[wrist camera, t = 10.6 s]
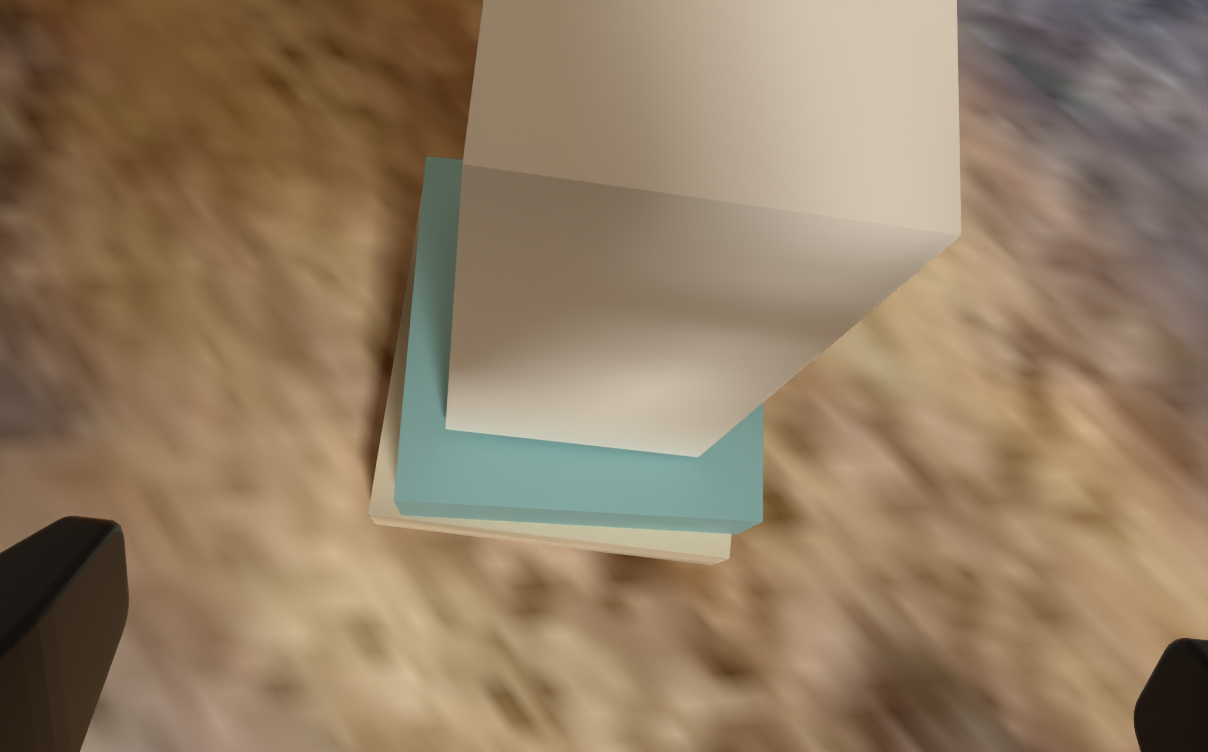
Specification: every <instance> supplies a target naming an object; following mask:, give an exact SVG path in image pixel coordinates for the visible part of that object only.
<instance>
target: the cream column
mask: <svg viewBox="0 0 1208 752" xmlns="http://www.w3.org/2000/svg"><path fill="white" fill-rule="evenodd" d="M960 236H961V199H960V147H959V96H958V44H957V0H483V8H482V15H481V23H480V31H479V39H478V47H477V54H476V62H475V70H474V78H473V85H472V93H471V101H470V109H469V117H468V124H467V132H466V140H465V148H464V156H463V163H462V178H461V194H460V210H459V225H458V241H457V256H456V272H455V288H454V303H453V319H452V334H451V350H450V366H449V381H448V397H447V412H446V428H445V429H448V430H457V431H466V432H475V433H484V434H493V435H502V436H511V437H520V438H529V439H538V440H547V441H556V442H565V443H574V444H583V445H592V446H601V447H610V448H619V449H628V450H637V451H646V452H655V453H664V454H672V455H681V456H690V457H699V456H700V455H702V454H703V453H704V452H705V451H706V450H707V449H709V448H710V447H711V446H712V445H713V444H715V443H716V442H717V441H718V440H719V439H720V438H722V437H723V436H724V435H725V434H726V433H728V432H729V431H730V430H731V429H732V428H733V427H735V426H736V425H737V424H738V423H739V422H741V421H742V420H743V419H744V418H745V417H747V416H748V415H749V414H750V413H751V412H752V411H754V410H755V409H756V408H757V407H758V406H760V405H761V404H762V403H763V402H764V401H765V400H767V399H768V398H769V397H770V396H771V395H773V394H774V393H775V392H776V391H777V390H778V389H780V388H781V387H782V386H783V385H784V384H786V383H787V382H788V381H789V380H790V379H792V378H793V377H794V376H795V375H796V374H797V373H799V372H800V371H801V370H802V369H803V368H805V367H806V366H807V365H808V364H809V363H810V362H812V361H813V360H814V359H815V358H816V357H818V356H819V355H820V354H821V353H822V352H824V351H825V350H826V349H827V348H828V347H829V346H831V345H832V344H833V343H834V342H835V341H837V340H838V339H839V338H840V337H841V336H842V335H844V334H845V333H846V332H847V331H848V330H850V329H851V328H852V327H853V326H854V325H855V324H857V323H858V322H859V321H860V320H861V319H863V318H864V317H865V316H866V315H867V314H869V313H870V312H871V311H872V310H873V309H874V308H876V307H877V306H878V305H879V304H880V303H882V302H883V301H884V300H885V299H886V298H887V297H889V296H890V295H891V294H892V293H893V292H895V291H896V290H897V289H898V288H899V287H900V286H902V285H903V284H904V283H905V282H906V281H908V280H909V279H910V278H911V277H912V276H914V275H915V274H916V273H917V272H918V271H919V270H921V269H922V268H923V267H924V266H925V265H927V264H928V263H929V262H930V261H931V260H932V259H934V258H935V257H936V256H937V255H938V254H940V253H941V252H942V251H943V250H944V249H945V248H947V247H948V246H949V245H950V244H951V243H953V242H954V241H955V240H956V239H957V238H959V237H960Z"/></svg>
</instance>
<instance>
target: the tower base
mask: <svg viewBox="0 0 1208 752" xmlns="http://www.w3.org/2000/svg"><path fill="white" fill-rule="evenodd" d="M422 191H423V188H422ZM421 201H422V194H421V200H420V206H419V212H418V218H417V224H416V230H415V236H414V242H413V248H412V254H411V260H410V266H409V272H408V278H407V284H406V290H405V296H404V302H403V308H402V314H401V320H400V326H399V332H398V338H397V344H396V350H395V356H394V362H393V368H392V374H391V380H390V386H389V392H388V398H387V404H386V410H385V416H384V422H383V428H382V434H381V440H380V446H379V452H378V457H377V463H376V469H375V475H374V481H373V487H372V493H371V499H370V505H369V511H368V515H369V516H370V518H371V519H372V521H373V522H374V524H379V525H387V526H395V527H403V528H411V529H420V530H428V531H436V532H444V533H452V534H460V535H469V536H477V537H485V538H493V539H501V540H510V541H518V542H526V543H534V544H542V545H551V546H559V547H567V548H575V549H583V550H591V551H600V552H608V553H616V554H624V555H632V556H641V557H649V558H657V559H665V560H673V561H681V562H690V563H698V564H706V565H715V564H717V563H720V562H722V561H725V560H727V559H729V558H730V545H731V534H721V533H703V532H686V531H668V530H650V529H632V528H615V527H597V526H579V525H562V524H544V523H526V522H508V521H491V520H473V519H455V518H438V517H420V516H402V515H401V514H400V512H399V510H398V508H397V506H396V504H395V502H394V492H395V481H396V470H397V460H398V449H399V438H400V427H401V417H402V406H403V395H404V384H405V373H406V363H407V352H408V341H409V330H410V320H411V309H412V298H413V287H414V277H415V266H416V255H417V244H418V234H419V223H420V212H421Z"/></svg>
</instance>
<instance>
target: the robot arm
mask: <svg viewBox="0 0 1208 752" xmlns="http://www.w3.org/2000/svg"><path fill="white" fill-rule="evenodd" d="M128 608H129V592H128V579H127V566H126V554H125V541H124V534H123V531H122V529H121V526H120V525H119V524H118V523H116V522H115V521H113V520H106V519H97V518H88V517H79V516H67V517H64V518H61V519H59V520H57V521H55V522H54V523H52V524H50V525H48V526H47V527H45V528H43V529H41V530H40V531H38V532H36V533H34V534H33V535H31V536H29V537H27V538H26V539H24V540H22V541H20V542H19V543H17V544H15V545H14V546H12V547H10V548H8V549H7V550H5V551H3V552H1V553H0V752H80V750H81V747H82V744H83V741H84V739H85V736H86V733H87V730H88V727H89V725H90V722H91V719H92V716H93V714H94V711H95V708H96V705H97V703H98V700H99V697H100V694H101V691H102V689H103V686H104V683H105V680H106V678H107V675H108V672H109V669H110V666H111V664H112V661H113V658H114V655H115V653H116V650H117V647H118V644H119V642H120V639H121V636H122V633H123V630H124V627H125V624H126V620H127V615H128ZM1134 728H1135V733H1136V737H1137V740H1138V744H1139V747H1140V750H1141V752H1208V640H1200V639H1190V638H1181V639H1176V640H1175V641H1173V642H1172V643H1171V644H1169V645H1168V647H1167V648H1166V649H1165V651H1164V653H1163V655H1162V656H1161V658H1160V660H1159V662H1158V664H1157V665H1156V667H1155V669H1154V671H1153V673H1152V674H1151V676H1150V678H1149V680H1148V682H1147V684H1146V685H1145V687H1144V689H1143V691H1142V693H1141V694H1140V696H1139V698H1138V700H1137V702H1136V706H1135V710H1134Z"/></svg>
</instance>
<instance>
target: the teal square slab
mask: <svg viewBox="0 0 1208 752" xmlns="http://www.w3.org/2000/svg"><path fill="white" fill-rule="evenodd" d="M462 163H463V160H462V159H451V158H440V157H429V156H426V158H425V169H424V180H423V191H422V201H421V212H420V223H419V234H418V244H417V255H416V266H415V277H414V287H413V298H412V309H411V320H410V330H409V341H408V352H407V363H406V373H405V384H404V395H403V406H402V417H401V427H400V438H399V449H398V460H397V470H396V481H395V492H394V502H395V504H396V506H397V508H398V510H399V512H400V514H401V515H402V516H420V517H438V518H455V519H473V520H491V521H508V522H526V523H544V524H562V525H579V526H597V527H615V528H632V529H650V530H668V531H686V532H703V533H721V534H738V533H740V532H742V531H745V530H747V529H749V528H751V527H753V526H755V525H757V524H759V523H761V522H763V403H762V404H761V405H760V406H758V407H757V408H756V409H755V410H754V411H752V412H751V413H750V414H749V415H748V416H747V417H745V418H744V419H743V420H742V421H741V422H739V423H738V424H737V425H736V426H735V427H733V428H732V429H731V430H730V431H729V432H728V433H726V434H725V435H724V436H723V437H722V438H720V439H719V440H718V441H717V442H716V443H715V444H713V445H712V446H711V447H710V448H709V449H707V450H706V451H705V452H704V453H703V454H702V455H700V456H699V457H690V456H681V455H672V454H664V453H655V452H646V451H637V450H628V449H619V448H610V447H601V446H592V445H583V444H574V443H565V442H556V441H547V440H538V439H529V438H520V437H511V436H502V435H493V434H484V433H475V432H466V431H457V430H448V429H445V428H446V412H447V397H448V381H449V366H450V350H451V334H452V319H453V303H454V288H455V272H456V256H457V241H458V225H459V210H460V194H461V178H462Z"/></svg>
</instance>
